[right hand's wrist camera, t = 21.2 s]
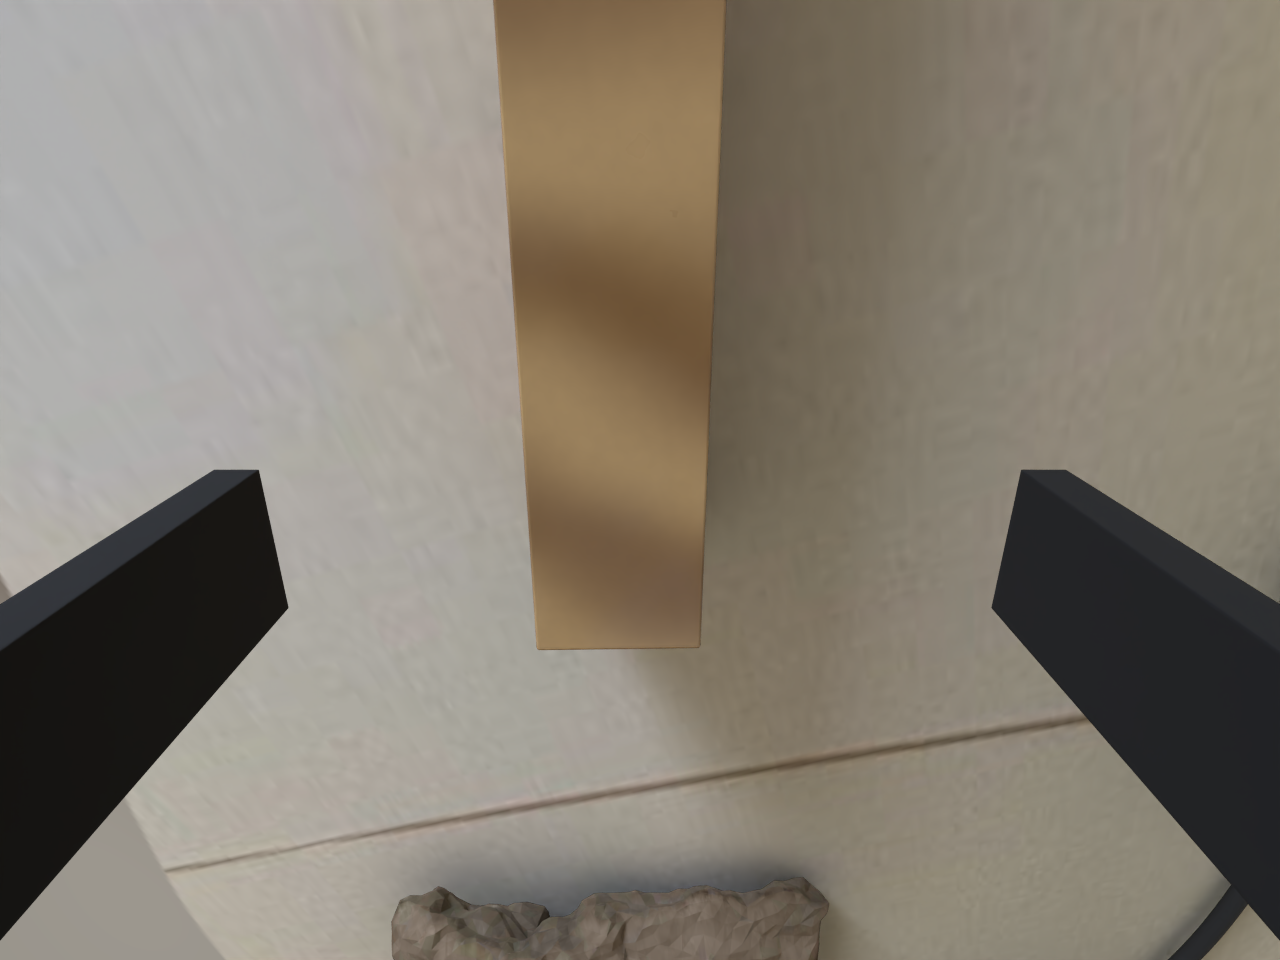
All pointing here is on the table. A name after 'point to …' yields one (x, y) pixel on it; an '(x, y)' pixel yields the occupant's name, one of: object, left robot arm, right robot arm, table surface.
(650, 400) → the post
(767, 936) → the stone
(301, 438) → the table surface
